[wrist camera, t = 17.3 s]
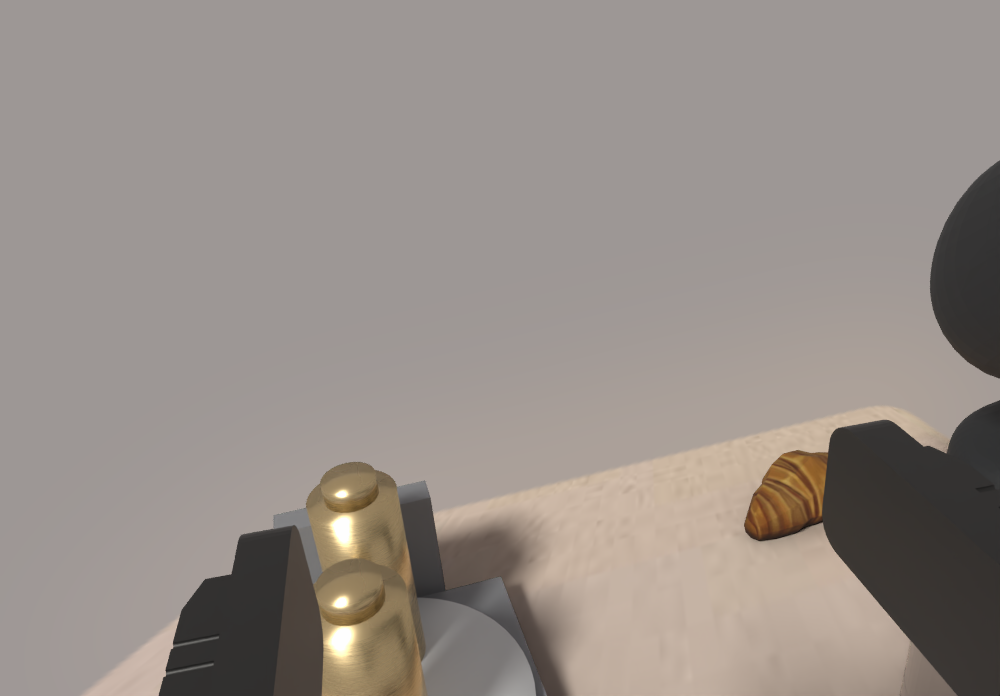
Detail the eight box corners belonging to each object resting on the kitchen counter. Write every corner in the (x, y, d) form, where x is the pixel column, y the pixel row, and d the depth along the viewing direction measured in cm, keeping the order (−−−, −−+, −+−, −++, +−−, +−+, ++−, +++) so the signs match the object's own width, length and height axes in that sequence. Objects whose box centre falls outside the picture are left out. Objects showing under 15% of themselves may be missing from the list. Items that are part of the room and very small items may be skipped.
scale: (495, 583, 58) (480, 462, 54) (595, 851, 40) (585, 704, 35) (250, 647, 55) (210, 523, 50) (238, 971, 37) (174, 827, 32)
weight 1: (397, 609, 51) (363, 442, 46) (441, 652, 48) (411, 476, 42) (330, 651, 49) (285, 479, 43) (372, 700, 45) (329, 519, 39)
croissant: (822, 458, 69) (828, 409, 67) (894, 494, 64) (902, 443, 61) (714, 520, 63) (716, 470, 60) (784, 566, 57) (788, 512, 55)
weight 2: (406, 713, 44) (367, 529, 38) (459, 773, 41) (424, 580, 35) (328, 769, 41) (273, 581, 36) (378, 839, 38) (325, 642, 32)
